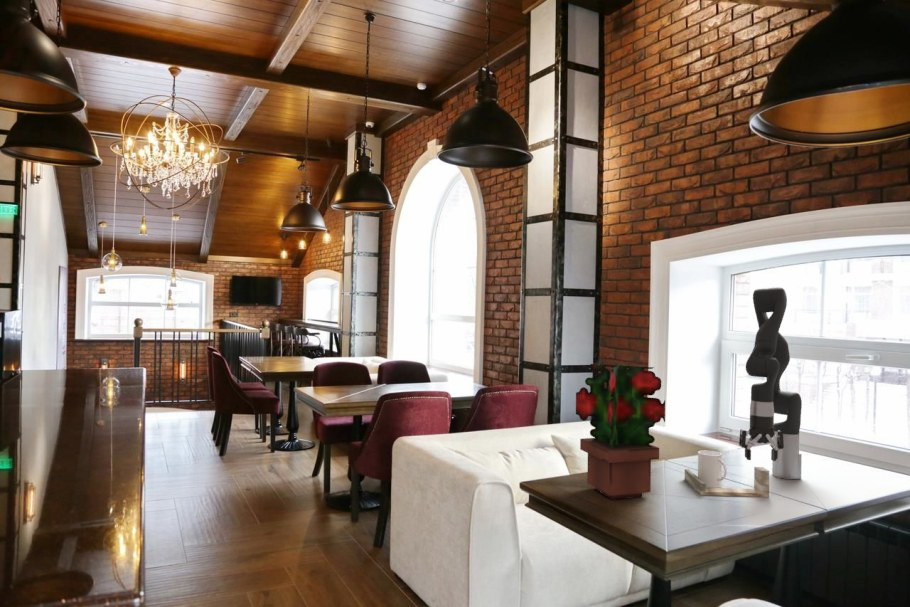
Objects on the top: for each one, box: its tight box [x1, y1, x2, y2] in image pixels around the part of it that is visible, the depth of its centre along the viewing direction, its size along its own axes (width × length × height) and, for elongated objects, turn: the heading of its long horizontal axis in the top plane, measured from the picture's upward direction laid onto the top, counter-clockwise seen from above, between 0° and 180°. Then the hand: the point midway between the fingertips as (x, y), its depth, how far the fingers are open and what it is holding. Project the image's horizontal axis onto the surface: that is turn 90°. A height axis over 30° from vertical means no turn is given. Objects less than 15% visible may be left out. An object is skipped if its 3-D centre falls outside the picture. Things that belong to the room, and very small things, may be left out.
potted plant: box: [575, 363, 666, 500], centre depth 218 cm, size 22×22×45 cm
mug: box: [697, 449, 728, 488], centre depth 227 cm, size 12×8×12 cm
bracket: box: [684, 466, 770, 498], centre depth 225 cm, size 23×19×9 cm
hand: (760, 460), depth 217 cm, fingers open, 8 cm apart
